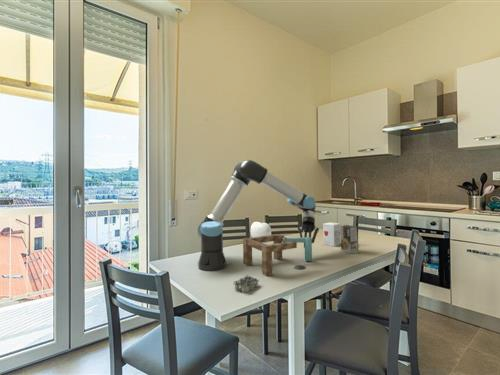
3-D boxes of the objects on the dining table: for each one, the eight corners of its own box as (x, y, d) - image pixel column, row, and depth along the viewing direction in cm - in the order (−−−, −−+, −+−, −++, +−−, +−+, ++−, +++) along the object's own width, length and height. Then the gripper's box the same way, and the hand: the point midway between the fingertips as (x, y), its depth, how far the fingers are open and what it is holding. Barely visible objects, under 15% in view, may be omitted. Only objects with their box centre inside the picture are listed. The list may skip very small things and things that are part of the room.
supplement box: (322, 244, 194) (322, 223, 194) (329, 242, 200) (329, 222, 200) (334, 246, 187) (333, 224, 187) (341, 244, 193) (340, 223, 193)
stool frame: (267, 276, 130) (266, 247, 130) (243, 263, 152) (242, 238, 152) (308, 268, 142) (307, 241, 142) (280, 257, 164) (280, 233, 164)
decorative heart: (275, 247, 188) (275, 222, 187) (263, 250, 181) (263, 224, 181) (258, 243, 202) (258, 220, 202) (247, 245, 195) (246, 221, 195)
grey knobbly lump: (245, 294, 111) (245, 284, 111) (231, 290, 116) (231, 280, 116) (261, 286, 120) (260, 276, 120) (247, 282, 124) (247, 273, 124)
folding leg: (283, 261, 153) (282, 238, 153) (282, 259, 157) (282, 237, 157) (312, 260, 152) (312, 238, 152) (311, 258, 156) (311, 236, 156)
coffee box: (358, 252, 171) (358, 226, 170) (350, 253, 168) (350, 227, 168) (348, 249, 179) (348, 224, 179) (340, 250, 177) (340, 225, 177)
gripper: (319, 223, 174) (318, 256, 158) (298, 222, 178) (296, 255, 162) (319, 216, 169) (318, 249, 153) (297, 215, 172) (294, 248, 157)
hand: (306, 252), depth 158 cm, fingers closed
